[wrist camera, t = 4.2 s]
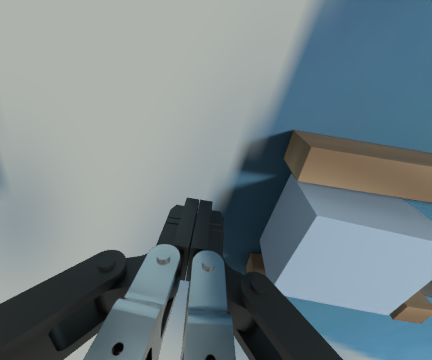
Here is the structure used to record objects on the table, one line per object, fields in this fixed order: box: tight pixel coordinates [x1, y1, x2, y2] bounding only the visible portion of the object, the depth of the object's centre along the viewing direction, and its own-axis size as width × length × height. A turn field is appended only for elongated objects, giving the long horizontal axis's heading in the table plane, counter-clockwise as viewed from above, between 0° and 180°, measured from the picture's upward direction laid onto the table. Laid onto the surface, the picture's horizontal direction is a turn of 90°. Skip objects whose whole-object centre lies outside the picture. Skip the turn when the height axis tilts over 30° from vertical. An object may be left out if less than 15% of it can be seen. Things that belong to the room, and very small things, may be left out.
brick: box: [260, 173, 432, 315], centre depth 11 cm, size 6×7×4 cm
